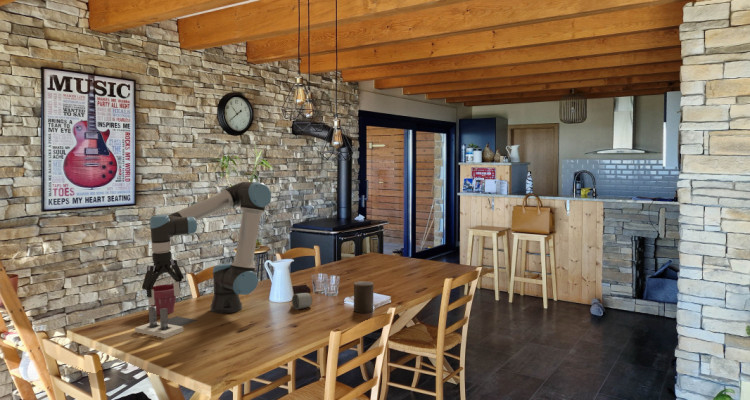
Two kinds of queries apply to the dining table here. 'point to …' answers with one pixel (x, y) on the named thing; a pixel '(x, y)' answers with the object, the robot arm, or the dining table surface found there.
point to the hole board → (159, 330)
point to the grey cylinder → (301, 300)
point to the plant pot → (164, 298)
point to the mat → (180, 321)
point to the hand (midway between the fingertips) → (164, 300)
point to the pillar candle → (363, 297)
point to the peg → (164, 319)
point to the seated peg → (152, 317)
